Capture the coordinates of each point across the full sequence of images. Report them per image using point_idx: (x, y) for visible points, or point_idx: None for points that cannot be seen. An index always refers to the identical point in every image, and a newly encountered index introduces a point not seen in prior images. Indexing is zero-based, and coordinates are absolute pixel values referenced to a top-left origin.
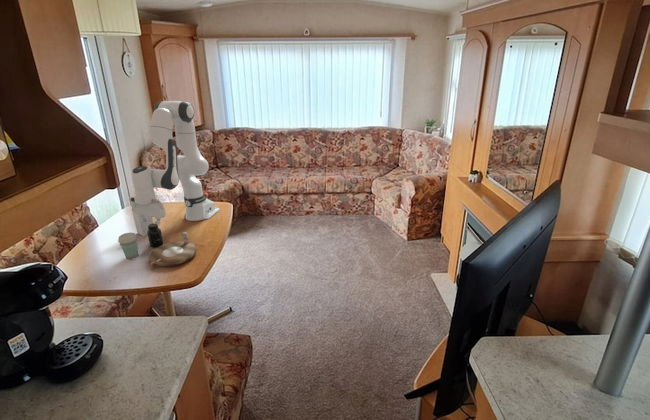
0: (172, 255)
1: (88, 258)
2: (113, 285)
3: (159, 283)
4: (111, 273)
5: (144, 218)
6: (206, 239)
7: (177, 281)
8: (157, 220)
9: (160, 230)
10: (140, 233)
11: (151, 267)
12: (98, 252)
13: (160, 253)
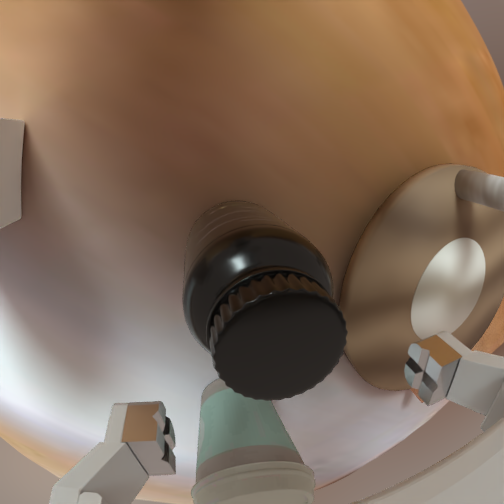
0: (465, 313)
1: None
2: (346, 466)
3: None
4: None
5: (146, 459)
6: (446, 54)
7: (492, 349)
8: (486, 401)
9: (321, 255)
10: None
11: (415, 390)
12: (57, 430)
13: (410, 340)
